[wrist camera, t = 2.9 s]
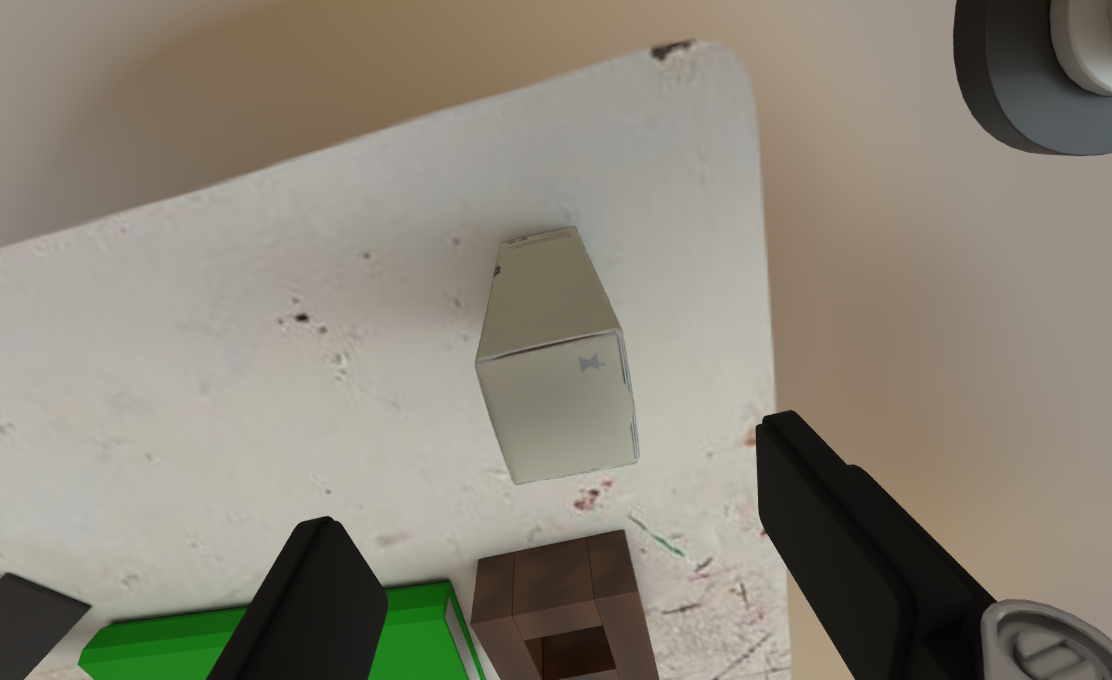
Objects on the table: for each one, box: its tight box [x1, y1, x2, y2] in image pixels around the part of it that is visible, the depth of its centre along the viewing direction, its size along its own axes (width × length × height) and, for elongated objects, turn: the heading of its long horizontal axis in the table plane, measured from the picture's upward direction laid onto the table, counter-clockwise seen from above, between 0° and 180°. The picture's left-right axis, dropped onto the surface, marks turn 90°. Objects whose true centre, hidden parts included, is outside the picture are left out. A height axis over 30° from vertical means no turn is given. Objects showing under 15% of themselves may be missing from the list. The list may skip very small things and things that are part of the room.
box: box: [475, 227, 639, 485], centre depth 18 cm, size 5×4×13 cm
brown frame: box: [470, 530, 659, 680], centre depth 34 cm, size 12×12×5 cm
